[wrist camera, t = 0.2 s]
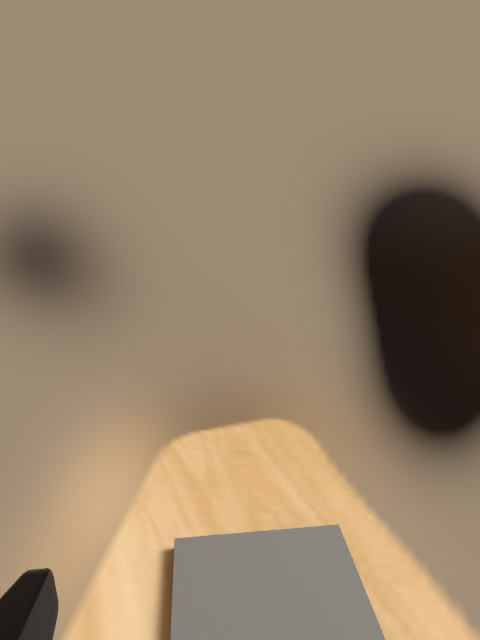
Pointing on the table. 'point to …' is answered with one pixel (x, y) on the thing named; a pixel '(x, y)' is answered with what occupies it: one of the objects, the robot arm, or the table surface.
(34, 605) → the robot arm
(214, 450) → the table surface
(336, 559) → the pad
